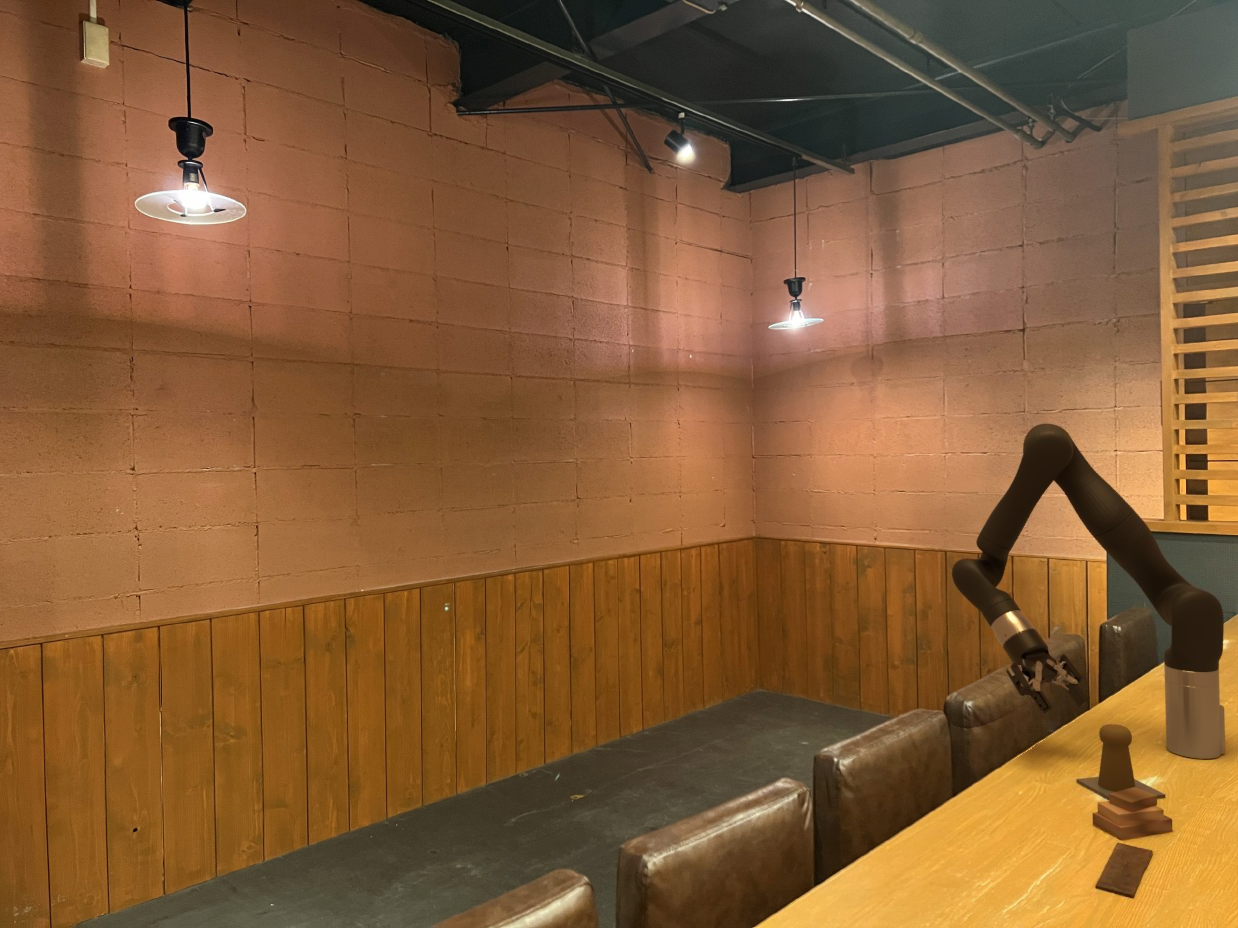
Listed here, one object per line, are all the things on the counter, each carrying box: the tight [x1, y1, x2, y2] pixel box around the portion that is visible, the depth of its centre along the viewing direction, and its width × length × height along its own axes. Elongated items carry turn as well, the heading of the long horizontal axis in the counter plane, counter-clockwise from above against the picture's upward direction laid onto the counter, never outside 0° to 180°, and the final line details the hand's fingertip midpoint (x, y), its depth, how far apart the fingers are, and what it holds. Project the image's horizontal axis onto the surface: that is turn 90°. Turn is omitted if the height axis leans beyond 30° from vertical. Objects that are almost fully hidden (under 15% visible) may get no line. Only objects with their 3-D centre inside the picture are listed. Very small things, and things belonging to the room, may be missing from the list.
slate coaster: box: [1075, 776, 1166, 801], centre depth 161 cm, size 10×10×1 cm
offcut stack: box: [1091, 787, 1173, 841], centre depth 145 cm, size 10×6×5 cm, turn 104°
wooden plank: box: [1094, 842, 1154, 898], centre depth 132 cm, size 17×1×5 cm
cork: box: [1098, 723, 1135, 792], centre depth 161 cm, size 6×6×11 cm
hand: (1066, 707), depth 171 cm, fingers open, 8 cm apart
